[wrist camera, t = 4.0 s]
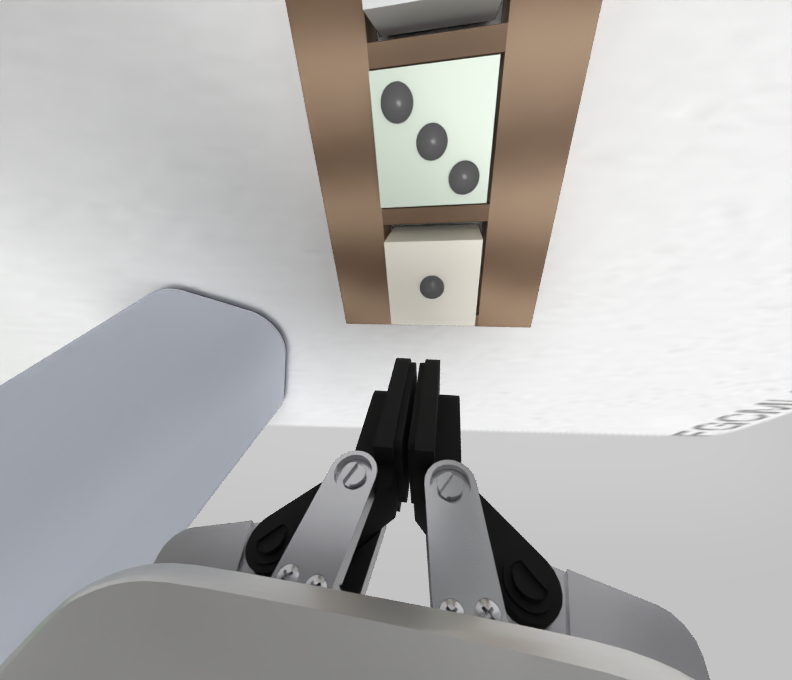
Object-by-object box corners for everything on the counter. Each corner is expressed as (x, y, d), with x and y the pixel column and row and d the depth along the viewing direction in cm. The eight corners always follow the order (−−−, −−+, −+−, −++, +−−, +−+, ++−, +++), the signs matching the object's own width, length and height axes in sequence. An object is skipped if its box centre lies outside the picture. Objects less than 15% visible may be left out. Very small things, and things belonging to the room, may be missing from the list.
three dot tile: (384, 84, 17) (367, 70, 14) (490, 71, 16) (501, 52, 13) (392, 197, 20) (380, 208, 17) (480, 192, 19) (486, 203, 16)
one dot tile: (394, 227, 21) (383, 243, 18) (477, 224, 20) (483, 240, 17) (399, 300, 25) (390, 326, 21) (471, 301, 24) (474, 327, 20)
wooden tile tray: (279, -163, 14) (241, -229, 11) (634, -264, 11) (684, -376, 9) (355, 307, 28) (346, 323, 25) (522, 309, 25) (530, 327, 23)
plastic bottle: (287, 411, 38) (44, 812, 15) (176, 378, 38) (-239, 735, 15) (292, 317, 29) (-256, 920, 7) (147, 273, 29) (-939, 742, 6)
